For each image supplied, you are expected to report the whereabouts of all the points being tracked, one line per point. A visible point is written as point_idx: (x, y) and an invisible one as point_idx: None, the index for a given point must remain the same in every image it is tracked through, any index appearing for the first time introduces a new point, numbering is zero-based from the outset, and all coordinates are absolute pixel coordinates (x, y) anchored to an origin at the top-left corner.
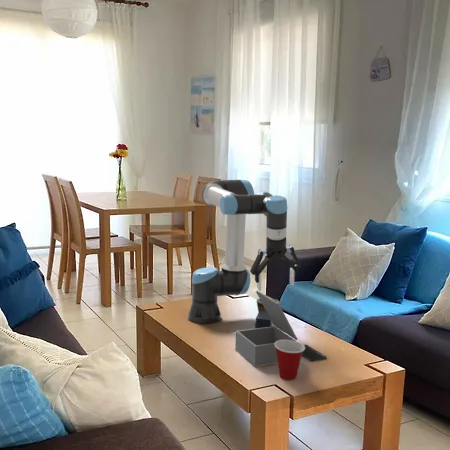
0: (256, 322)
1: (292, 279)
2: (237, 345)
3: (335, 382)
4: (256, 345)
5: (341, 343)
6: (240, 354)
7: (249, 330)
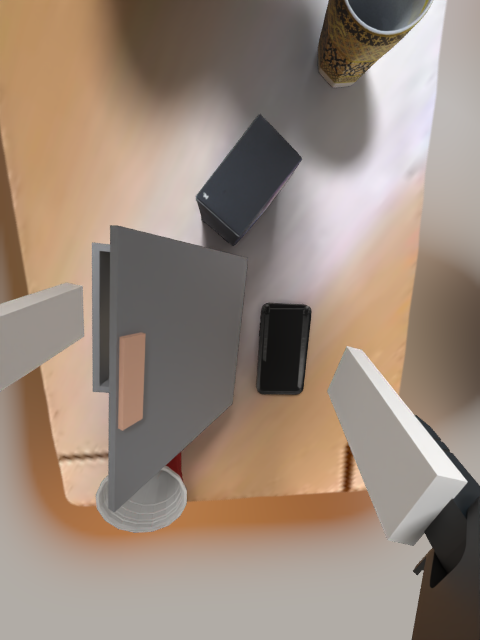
0: (199, 205)
1: (344, 433)
2: None
3: (236, 487)
4: (99, 387)
5: (398, 327)
6: None
7: None
